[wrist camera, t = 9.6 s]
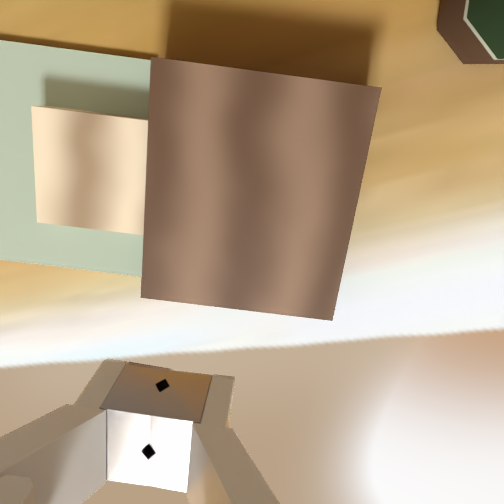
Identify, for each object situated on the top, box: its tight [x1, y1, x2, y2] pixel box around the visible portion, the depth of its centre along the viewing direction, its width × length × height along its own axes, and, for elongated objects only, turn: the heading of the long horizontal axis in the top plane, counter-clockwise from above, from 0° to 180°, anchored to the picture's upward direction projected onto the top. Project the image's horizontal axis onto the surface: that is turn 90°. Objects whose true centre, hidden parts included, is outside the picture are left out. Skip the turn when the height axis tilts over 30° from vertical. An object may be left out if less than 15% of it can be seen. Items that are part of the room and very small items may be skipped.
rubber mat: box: [0, 40, 151, 277], centre depth 32 cm, size 12×16×1 cm
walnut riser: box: [141, 57, 381, 321], centre depth 30 cm, size 14×16×4 cm
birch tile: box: [31, 106, 148, 235], centre depth 30 cm, size 8×8×2 cm
